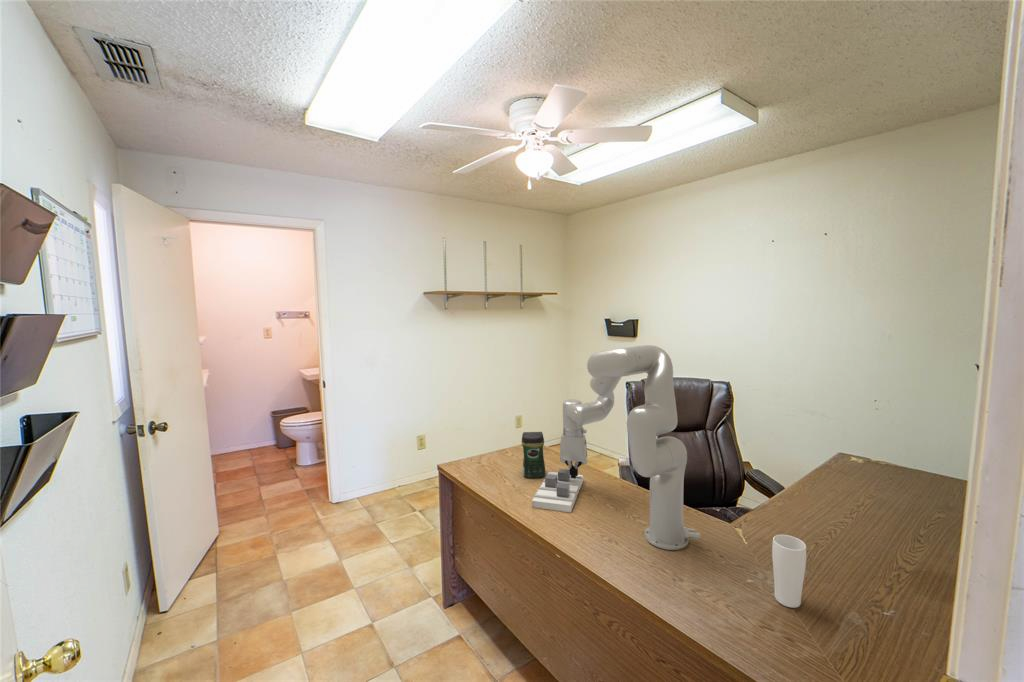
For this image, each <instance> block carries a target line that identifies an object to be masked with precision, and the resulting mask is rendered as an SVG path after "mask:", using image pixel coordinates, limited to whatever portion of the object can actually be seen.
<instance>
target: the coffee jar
mask: <svg viewBox="0 0 1024 682" xmlns="http://www.w3.org/2000/svg"><path fill="white" fill-rule="evenodd" d="M544 438H545V437H544V433H543V431H524V432H522V435H521V441H520V442H521V445H522V449H523V458H522V459H523V461H522V475H523V477H524V478H527V479H529V478H530V479H534V478H535V479H537V478H543V477H546V463H545V457H544V446H545V439H544Z"/></svg>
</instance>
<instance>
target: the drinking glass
mask: <svg viewBox="0 0 1024 682" xmlns="http://www.w3.org/2000/svg"><path fill="white" fill-rule="evenodd" d="M771 557H772V558H771V559H772V570H773V572H772V573H773V582H774V583H773V586H774V598H775V600H776V601H777V602H778V603H779V604H781V605H782V606H784V607H786V608H791V609H796V608H799V607H800V606H801V605H802V593H803V586H804V579H805V573H806V566H807V545H806V543H805V542H804V541H803V540H801V539H800V538H797V537H795V536H792V535H789V534H776V535H774V536H773V538H772V546H771Z"/></svg>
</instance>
